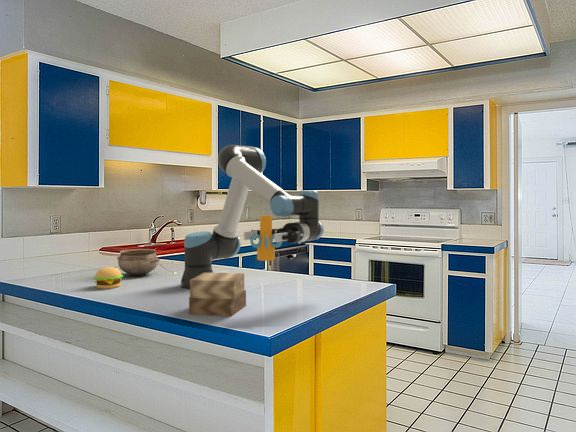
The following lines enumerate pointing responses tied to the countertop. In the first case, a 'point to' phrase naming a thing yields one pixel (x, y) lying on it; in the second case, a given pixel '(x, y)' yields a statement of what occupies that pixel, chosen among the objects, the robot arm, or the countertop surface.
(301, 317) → the countertop surface
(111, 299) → the countertop surface
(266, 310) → the countertop surface
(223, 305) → the tower base
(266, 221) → the orange tall piece
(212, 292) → the tower top
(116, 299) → the countertop surface
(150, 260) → the cooking pot
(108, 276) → the hamburger
